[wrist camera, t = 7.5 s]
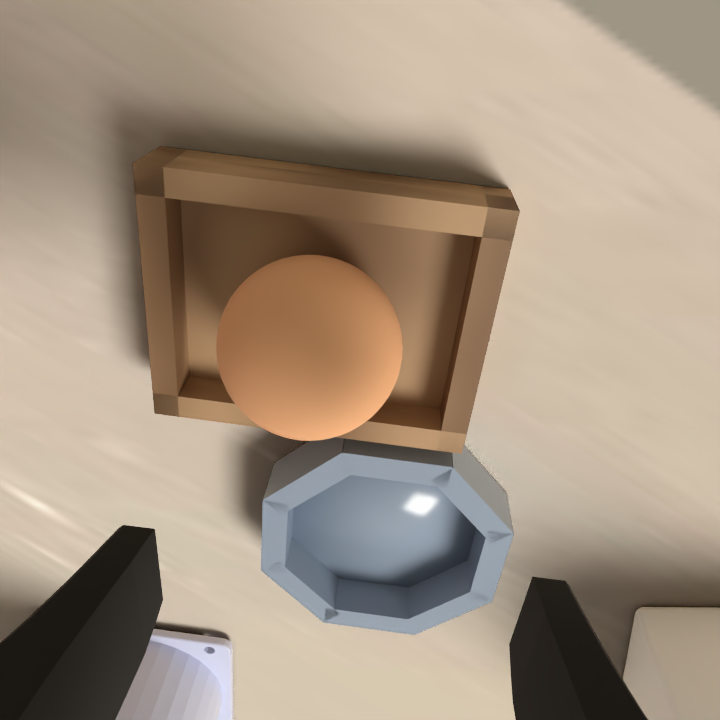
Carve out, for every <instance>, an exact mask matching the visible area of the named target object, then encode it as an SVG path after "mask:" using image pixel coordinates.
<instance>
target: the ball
mask: <svg viewBox="0 0 720 720" xmlns="http://www.w3.org/2000/svg"><path fill="white" fill-rule="evenodd" d="M402 352H403V344H402V334H401V328H400V324H399V320H398V318H397V315H396V313H395V310H394V308H393V306H392V304H391V302H390V300H389V299H388V297H387V295H386V294H385V293H384V291H383V290H382V289H381V288H380V286H379V285H378V284H377V283H376V282H374V281H373V280H372V279H371V278H370V277H369V276H368V275H367V274H365V273H364V272H363V271H361V270H360V269H358V268H356V267H355V266H353V265H351V264H349V263H347V262H344V261H342V260H339V259H336V258H332V257H328V256H321V255H298V256H292V257H287V258H283V259H280V260H277V261H274V262H272V263H270V264H268V265H266V266H264V267H262V268H260V269H259V270H257V271H256V272H255V273H253V274H252V275H251V276H249V277H248V278H247V279H246V280H245V281H244V282H243V283H242V284H241V285H240V286H239V287H238V288H237V290H236V291H235V292H234V294H233V295H232V296H231V298H230V299H229V301H228V303H227V305H226V307H225V309H224V311H223V314H222V317H221V320H220V323H219V327H218V333H217V339H216V355H217V363H218V369H219V372H220V376H221V379H222V381H223V383H224V386H225V388H226V390H227V392H228V394H229V396H230V397H231V399H232V400H233V402H234V403H235V404H236V405H237V407H238V408H239V409H240V410H241V411H242V412H243V413H244V414H245V415H246V416H247V417H248V418H249V419H250V420H251V421H253V422H254V423H255V424H257V425H258V426H260V427H262V428H263V429H265V430H267V431H269V432H271V433H273V434H276V435H279V436H282V437H285V438H289V439H295V440H303V441H316V440H324V439H329V438H333V437H337V436H340V435H343V434H345V433H348V432H350V431H352V430H354V429H356V428H357V427H359V426H361V425H362V424H363V423H365V422H366V421H367V420H369V419H370V418H371V417H372V416H373V415H374V414H375V413H376V412H377V411H378V410H379V409H380V408H381V407H382V405H383V404H384V403H385V401H386V400H387V399H388V397H389V395H390V394H391V392H392V390H393V388H394V386H395V384H396V381H397V378H398V375H399V372H400V367H401V361H402Z"/></svg>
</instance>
